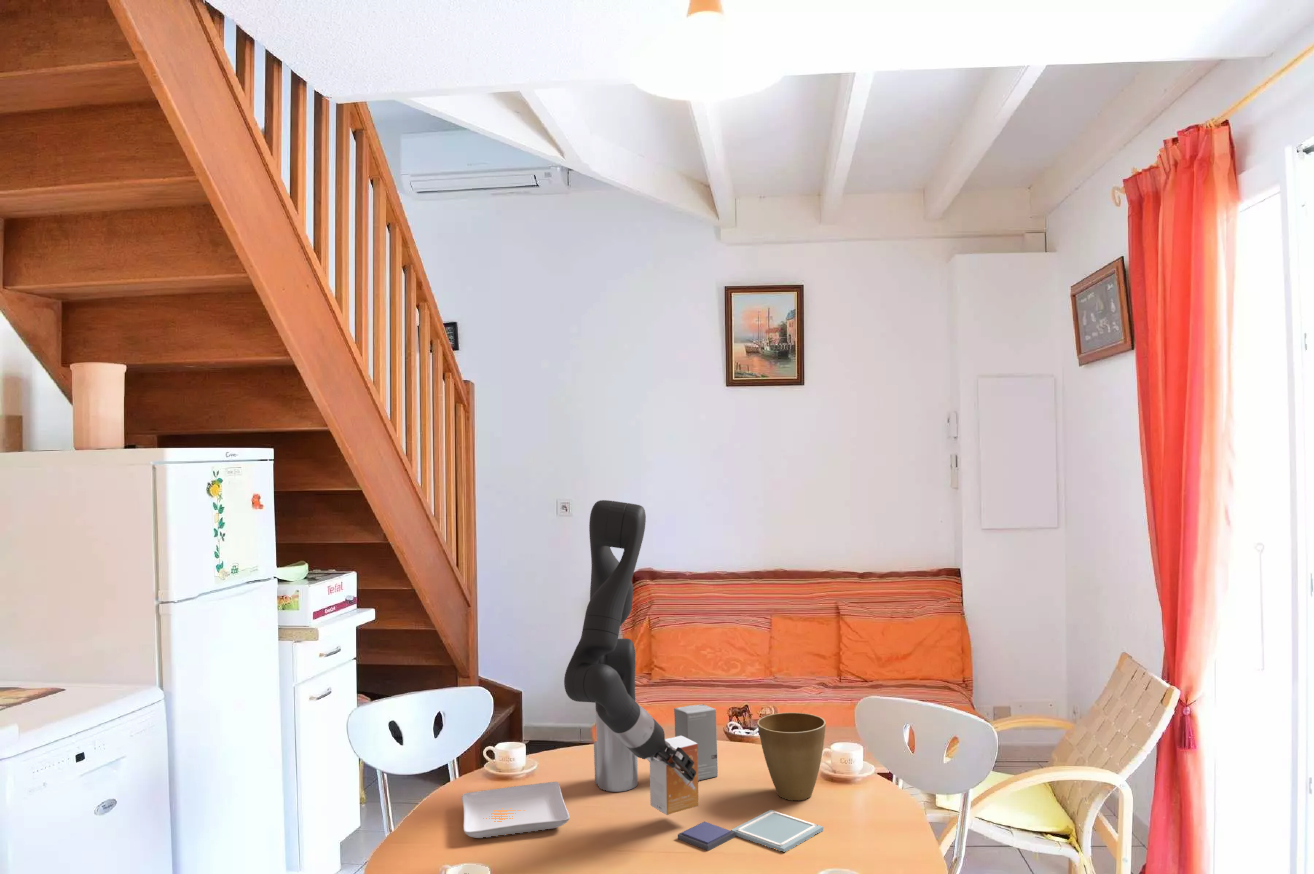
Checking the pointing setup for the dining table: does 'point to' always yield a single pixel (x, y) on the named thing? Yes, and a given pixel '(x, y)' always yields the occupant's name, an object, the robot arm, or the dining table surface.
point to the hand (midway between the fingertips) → (679, 772)
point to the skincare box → (700, 735)
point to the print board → (777, 830)
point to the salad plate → (535, 799)
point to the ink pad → (706, 835)
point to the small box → (674, 781)
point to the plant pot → (792, 751)
